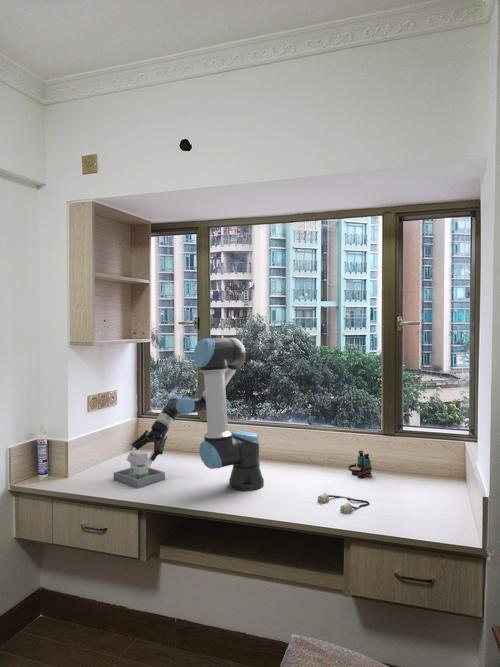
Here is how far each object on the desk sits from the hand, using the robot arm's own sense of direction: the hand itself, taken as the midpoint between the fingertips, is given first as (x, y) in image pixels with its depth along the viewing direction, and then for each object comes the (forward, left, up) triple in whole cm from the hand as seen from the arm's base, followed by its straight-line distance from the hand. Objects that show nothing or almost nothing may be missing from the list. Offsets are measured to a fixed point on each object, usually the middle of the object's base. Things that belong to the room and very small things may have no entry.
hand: (137, 463), depth 237 cm
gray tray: (0, -1, -8) cm, 8 cm away
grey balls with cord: (-87, -33, -8) cm, 93 cm away
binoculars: (-75, -68, -8) cm, 102 cm away
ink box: (0, -1, -7) cm, 7 cm away
